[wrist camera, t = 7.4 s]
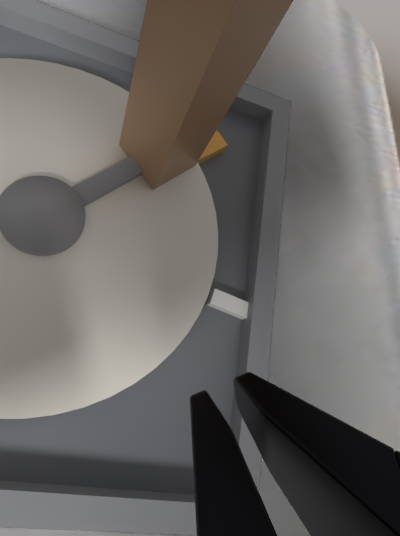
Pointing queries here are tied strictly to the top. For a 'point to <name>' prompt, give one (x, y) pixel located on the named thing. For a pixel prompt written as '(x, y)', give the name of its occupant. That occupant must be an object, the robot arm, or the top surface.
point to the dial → (113, 204)
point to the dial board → (191, 347)
